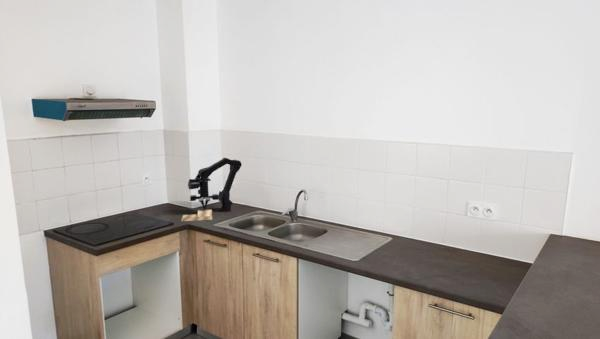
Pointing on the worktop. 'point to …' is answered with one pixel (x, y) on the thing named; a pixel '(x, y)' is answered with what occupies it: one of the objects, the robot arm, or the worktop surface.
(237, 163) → the robot arm
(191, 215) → the plank
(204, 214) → the plank
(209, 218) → the floor strip
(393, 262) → the worktop surface
